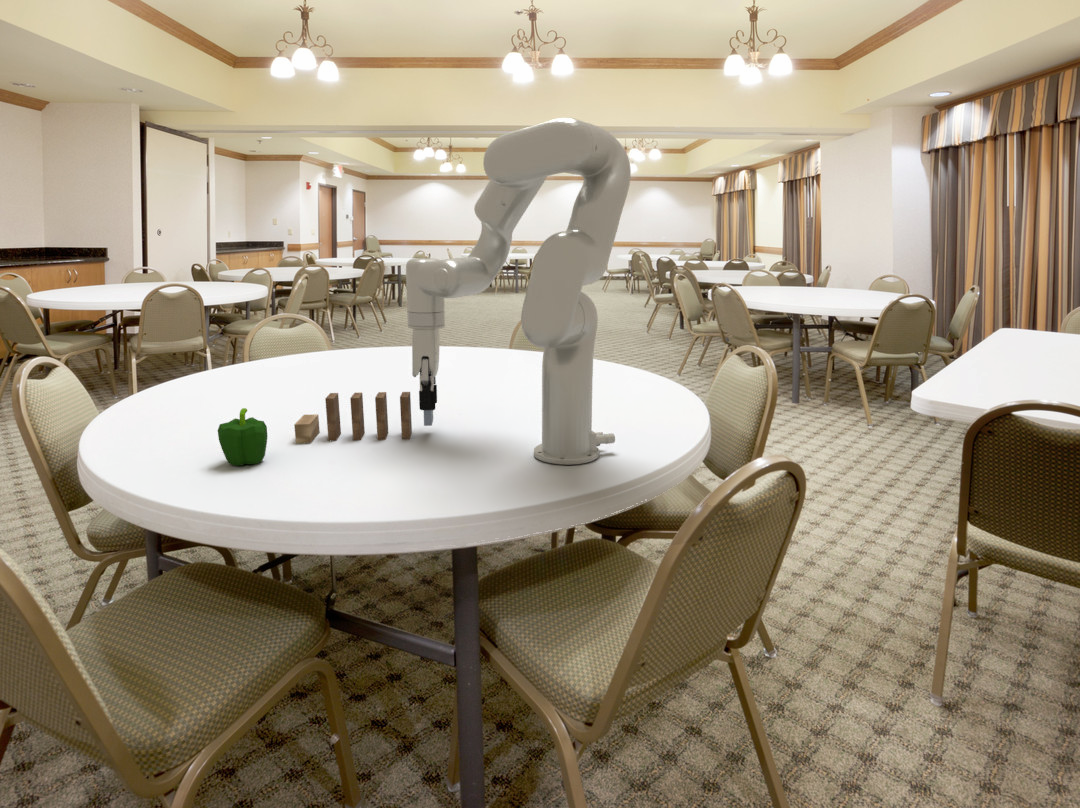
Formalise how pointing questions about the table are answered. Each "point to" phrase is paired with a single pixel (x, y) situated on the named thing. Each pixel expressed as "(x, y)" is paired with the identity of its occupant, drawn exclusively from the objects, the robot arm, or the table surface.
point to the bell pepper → (243, 440)
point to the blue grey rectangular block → (428, 416)
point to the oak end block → (307, 428)
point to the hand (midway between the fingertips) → (428, 405)
